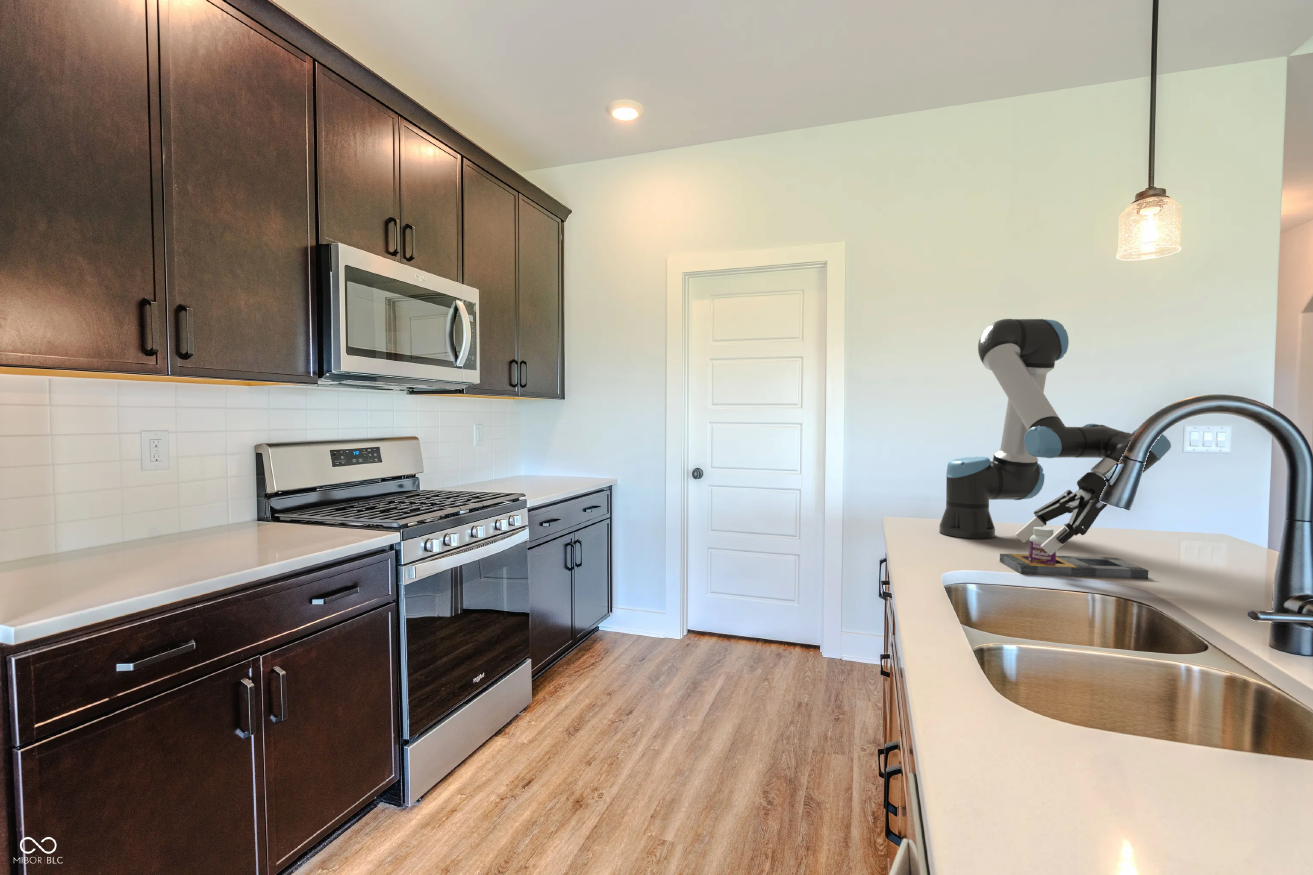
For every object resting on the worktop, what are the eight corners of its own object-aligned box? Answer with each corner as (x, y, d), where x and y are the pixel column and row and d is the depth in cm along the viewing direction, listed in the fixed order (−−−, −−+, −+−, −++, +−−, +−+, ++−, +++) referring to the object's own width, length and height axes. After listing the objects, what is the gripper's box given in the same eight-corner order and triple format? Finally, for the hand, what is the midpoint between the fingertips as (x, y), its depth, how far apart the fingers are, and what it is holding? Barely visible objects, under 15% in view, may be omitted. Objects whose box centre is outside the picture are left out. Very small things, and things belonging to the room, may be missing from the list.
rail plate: (999, 561, 150) (999, 553, 150) (1116, 565, 146) (1116, 557, 146) (1020, 573, 138) (1021, 564, 138) (1148, 579, 134) (1148, 569, 134)
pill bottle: (1030, 570, 142) (1031, 529, 141) (1026, 565, 147) (1027, 525, 146) (1058, 572, 140) (1059, 530, 139) (1052, 567, 145) (1053, 527, 144)
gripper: (1151, 501, 128) (1071, 569, 131) (1087, 487, 152) (1020, 544, 155) (1124, 475, 128) (1044, 543, 131) (1064, 466, 153) (998, 523, 156)
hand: (1031, 544), depth 143 cm, fingers open, 13 cm apart
